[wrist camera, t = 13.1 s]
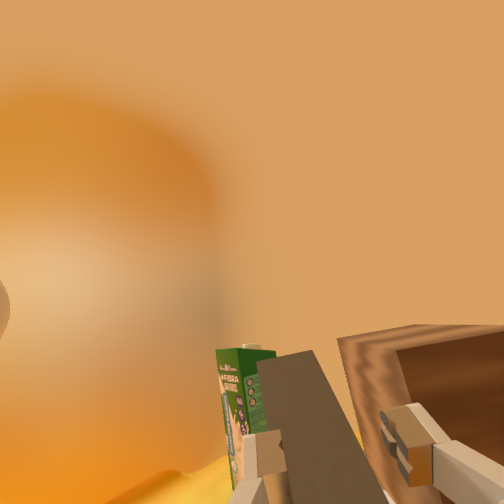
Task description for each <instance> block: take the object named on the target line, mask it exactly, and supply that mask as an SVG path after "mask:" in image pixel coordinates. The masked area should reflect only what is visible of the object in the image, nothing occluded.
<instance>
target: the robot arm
mask: <svg viewBox="0 0 504 504" xmlns="http://www.w3.org/2000/svg"><path fill="white" fill-rule="evenodd" d="M9 315H10V303H9V298H8V294H7V292H6V289H5V287H4V286H3V284H2V282H1V281H0V338H1V336H2V335H3V333H4V331H5V329H6V326H7V323H8V320H9ZM380 419H381V420H382V422H383V423H382V425H381V426H380V427H381V435H382V438H383V441H384V444H385V446H386V448H387V450H388V452H389V453H390V455H391V456H392V457H394V458H395V459H397V465H398V469H399V471H400V473H401V474H402V476H403V478H404V480H405V481H406V483H407V485H408V486H409V488H411V487H417V486H424V485H430V484H433V486H435V487H436V488H437V489H438V490H439V491H441V492H442V493H443V494H444V495H445V496H447V497H448V498H449V499H450V500H452V501H453V502H454V503H455V504H504V466H502V465H500V464H498V463H496V462H495V461H493V460H491V459H489V458H487V457H486V456H484V455H482V454H480V453H478V452H477V451H475V450H473V449H471V448H469V447H468V446H466V445H464V444H462V443H460V442H459V441H457V440H451V439H450V438H449V437H448V435H447V434H446V433H445V432H444V431H443V430H442V428H441V427H440V426H439V425H438V424H437V423H436V422H435V420H434V419H433V418H432V417H431V416H430V415H429V413H428V412H427V411H426V410H425V409H424V408H423V406H422V405H421V404H419V403H413V404H408V405H401V406H396V407H392V408H387V409H382V410H380ZM228 504H293V499H292V493H291V487H290V482H289V476H288V470H287V464H286V459H285V453H284V448H283V443H282V437H281V432H280V429H279V430H273V431H266V432H260V433H255V434H249V435H243V481H239V483H238V485H237V487H236V489H235V491H234V493H233V495H232V497H231V499H230V501H229V503H228Z"/></svg>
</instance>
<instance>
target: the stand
mask: <svg viewBox="0 0 504 504" xmlns="http://www.w3.org/2000/svg"><path fill="white" fill-rule="evenodd" d="M337 342H338V346H339V349H340V354H341V358H342V362H343V366H344V370H345V374H346V378H347V382H348V386H349V390H350V394H351V398H352V402H353V406H354V410H355V414H356V418H357V422H358V426H359V430H360V434H361V438H362V442H363V446H364V450H365V453H366V456H367V460H368V462H369V464H370V466H371V468H372V470H373V472H374V474H375V476H376V478H377V479H378V481H379V482H380V483H381V485H382V486H383V487H384V489H385V490H386V492H387V493H388V494H389V496H390V497H391V498H392V500H393V501H394V502H395V504H455V503H454V502H453V501H452V500H450V499H449V498H448V497H447V496H445V495H444V494H443V493H442V492H441V491H439V490H438V489H437V488H436V487H435V486H433V484H430V485H424V486H417V487H411V488H409V486H408V485H407V483H406V481H405V480H404V478H403V476H402V474H401V473H400V471H399V469H398V465H397V459H395V458H394V457H392V456H391V455H390V453H389V452H388V450H387V448H386V446H385V444H384V441H383V438H382V435H381V427H380V426H381V425H382V423H383V422H382V420H381V419H380V410H382V409H387V408H392V407H396V406H401V405H408V404H413V403H419V404H421V405H422V406H423V408H424V409H425V410H426V411H427V412H428V413H429V415H430V416H431V417H432V418H433V419H434V420H435V422H436V423H437V424H438V425H439V426H440V427H441V428H442V430H443V431H444V432H445V433H446V434H447V435H448V437H449V438H450V439H451V440H457V441H459V442H460V443H462V444H464V445H466V446H468V447H469V448H471V449H473V450H475V451H477V452H478V453H480V454H482V455H484V456H486V457H487V458H489V459H491V460H493V461H495V462H496V463H498V464H500V465H502V466H504V325H409V326H403V327H398V328H392V329H386V330H381V331H376V332H370V333H364V334H359V335H353V336H348V337H342V338H337Z"/></svg>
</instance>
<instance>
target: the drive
mask: <svg viewBox="0 0 504 504" xmlns="http://www.w3.org/2000/svg"><path fill="white" fill-rule="evenodd" d="M256 364H257V370H258V376H259V382H260V388H261V394H262V400H263V406H264V412H265V418H266V424H267V430H268V431H273V430H279V429H280V432H281V437H282V443H283V448H284V453H285V459H286V464H287V470H288V476H289V482H290V487H291V493H292V499H293V504H389V502H388V500H387V498H386V496H385V494H384V492H383V490H382V488H381V486H380V484H379V482H378V480H377V478H376V476H375V474H374V472H373V470H372V468H371V466H370V464H369V462H368V460H367V458H366V456H365V454H364V452H363V450H362V448H361V446H360V444H359V442H358V440H357V438H356V436H355V434H354V432H353V430H352V428H351V426H350V424H349V422H348V420H347V418H346V416H345V414H344V412H343V410H342V408H341V406H340V404H339V402H338V400H337V398H336V396H335V394H334V392H333V391H332V389H331V386H330V384H329V383H328V381H327V379H326V377H325V375H324V373H323V371H322V369H321V367H320V365H319V363H318V361H317V359H316V357H315V355H314V353H313V351H312V350H309V351H305V352H300V353H295V354H290V355H285V356H281V357H276V358H271V359H266V360H262V361H257V362H256Z"/></svg>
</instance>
